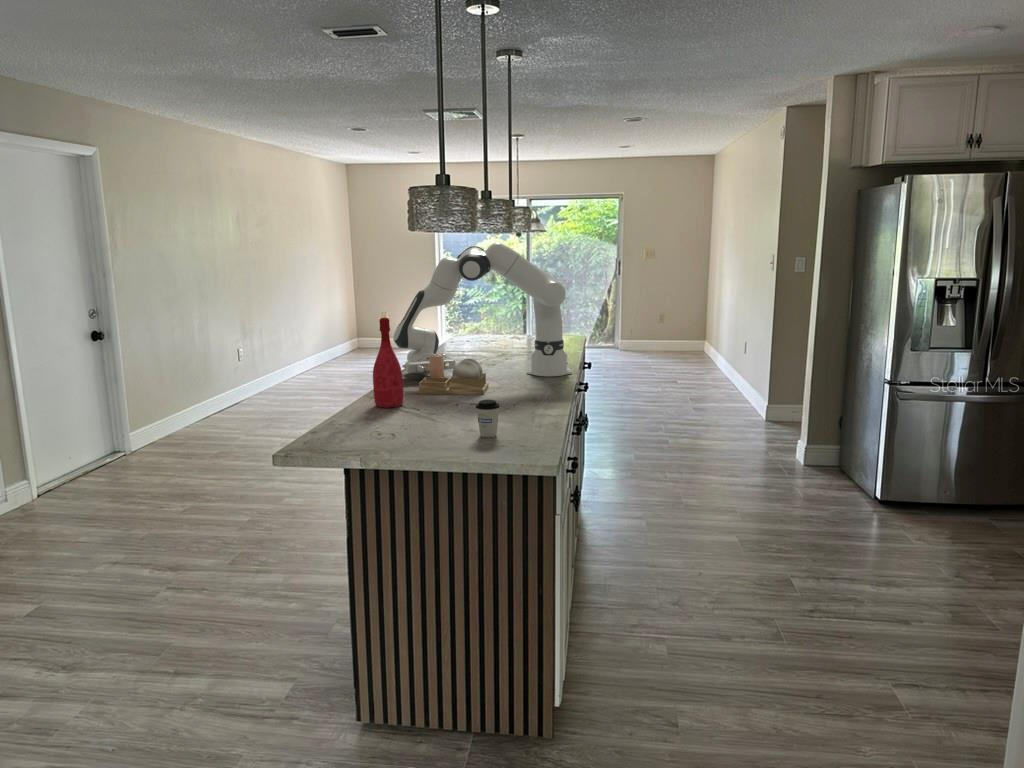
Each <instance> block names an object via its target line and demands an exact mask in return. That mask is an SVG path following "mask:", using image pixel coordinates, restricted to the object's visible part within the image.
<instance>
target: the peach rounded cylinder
mask: <svg viewBox="0 0 1024 768" xmlns="http://www.w3.org/2000/svg"><path fill="white" fill-rule="evenodd" d="M429 364H430V374H429V377H445V370H444V359H443V355H431V356H429Z"/></svg>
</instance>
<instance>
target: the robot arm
mask: <svg viewBox="0 0 1024 768" xmlns="http://www.w3.org/2000/svg"><path fill="white" fill-rule="evenodd" d="M490 271H494V272H496V273H498V274H499V275H500V276H501V277H502V278H504V279H505V280H507V281H508V282H510V283H511V284H513V285H514V286H516V287H517V288H518V289H520V290H521V291H523V292H524V293H526V294H527V295H528V296H530V297H531V298H532V299H533V301H532V302H533V310H534V317H535V318H534V319H535V340H534V344H533V345H534V351H533V352H532V353H531V356H530V359H531V361H530V369H528V370H526V374H527V375H533V376H537V377H561V376H566V375H572V374H573V371H572V370H571V369H570V368H569V367H568V364H569V363H568V353H566V352H565V350H564V349H565V348H564V347H565V346H564V345H565V343H564V339H563V317H562V311H561V304H563V302H564V301H565V300H566V296H567V295H566V294H567V292H566V289H565V286H564V285H563V284H562V283H561V282H560V281H558V280H557V279H555V278H554V277H553V276H552V275H550V274H548V273H547V272H546V271H544V270H543V269H541V268H540V267H538V266H536V265H535V264H534V263H532V262H531V261H529V260H528V259H527V258H525V257H524V256H522V255H521V254H520V253H518V252H517V251H516V250H514V249H512V248H511V247H509V246H508V245H505V244H503V243H501V242H494V243H492V244H490V245H489V246H488V247H487V249H486V250H484V248H482V247H480V246H477V245H473V246H469V247H468V248H465V250H463V251H462V252H461V253H460V254H459V255H457V258H453V257H450V256H449V257H448V256H447V257H443V258H441V260H440V261H439V262H438V263H437V266H436V267H435V269H434V272H433V273H432V276H431V278H430V279H431V280H430V281H429V284H428V285H426V287H425V288H424V289H422V290H421V289H420V290H419V291H418V292H417V293H416V294H415V296H414V298H413V300H412V301H411V303H410V305H409V307H408V308H407V310H406V312H405V314H404V316H403V318H402V319H401V321H400V323H399V324H398V325H397V326H396V329H395V331H394V333H393V338H392V339H393V342H394V343H395V345H396V346H397V347H398V348H400V349H405V350H407V349H410V351H409V352H408V353H407V357H406V360H407V361H406V362H405V364H402V365H401V366H402V367H401V368H403V369H405V372H406V373H408V374H412V373H413V374H415V373H420V374H423V375H430V364H429V356H431V355H443V359H444V371H445V370H454V368H455V366H456V365H457V364H456V359H454V358H453V357H450V356H447V354H446V353H437V352H438V349H439V345H440V344H439V343H440V341H439V336H438V333H437V332H436V331H435V330H433V329H429V328H425V327H419V326H414V323H415V322H416V320H417V319H418V317H419V315H420V313H421V312H422V311H423V310H424V309H428V308H434V307H442V306H445V305H447V304H449V303H450V302H452V301H453V299H454V298H455V296H456V293H457V290H458V287H459V284H460V282H461V280H462V279H465V280H466V281H469V282H471V281H472V282H473V281H477V280H479V279H481V278H483V277H484V276H485V275H486V274H489V272H490Z"/></svg>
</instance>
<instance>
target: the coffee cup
mask: <svg viewBox="0 0 1024 768" xmlns="http://www.w3.org/2000/svg"><path fill="white" fill-rule="evenodd" d="M474 407H475V409H476V414H477V415H476V416H477V423H478V429H479V435H480V437H481V436H482V437H481V438H483V437H493V438H495V436H496V437H497V435H498V424H499V423H498V422H499V412H500V407H501V405H500V404H499V403H498V402H497V401H496V400H494V399H482V400H479V401H478V403H476V405H475V406H474Z"/></svg>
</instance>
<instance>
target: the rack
mask: <svg viewBox="0 0 1024 768" xmlns="http://www.w3.org/2000/svg"><path fill="white" fill-rule="evenodd" d="M452 370H453V371H452V374H451V375H452V376H450V377H447V376H446V377H445V376H444V377H430V376H428V377H427V376H425V377H424V378H423V379H421V380H420V381H419V382H418V385H419V389H418V395H484V394H485V393H486V391H488V389H489V383H488V382H487V373H485V372H484V373H483V367H482V365H481V364H480V363H479V362H478V361H477V360H476V359H474V358H471V357H469V358H468V357H467V358H464V359H462V360H461V361H459V362H458V363H457V364H456V366H455V368H454V369H452Z"/></svg>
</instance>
